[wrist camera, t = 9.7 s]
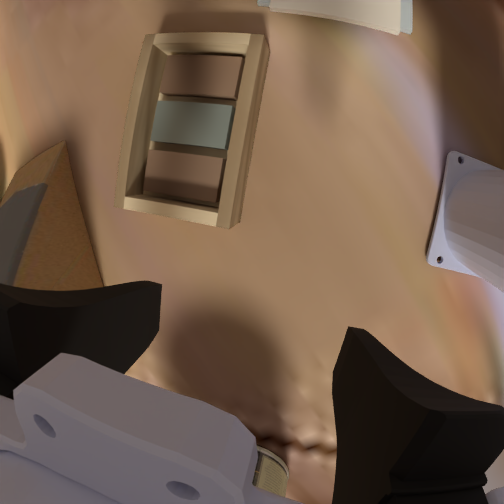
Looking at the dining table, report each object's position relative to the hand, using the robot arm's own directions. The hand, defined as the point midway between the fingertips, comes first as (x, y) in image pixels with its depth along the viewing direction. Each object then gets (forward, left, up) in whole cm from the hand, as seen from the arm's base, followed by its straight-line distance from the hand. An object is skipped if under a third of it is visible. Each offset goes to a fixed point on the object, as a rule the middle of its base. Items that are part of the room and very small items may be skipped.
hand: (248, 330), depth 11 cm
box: (+7, -8, -10) cm, 15 cm away
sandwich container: (+20, +2, -11) cm, 23 cm away
